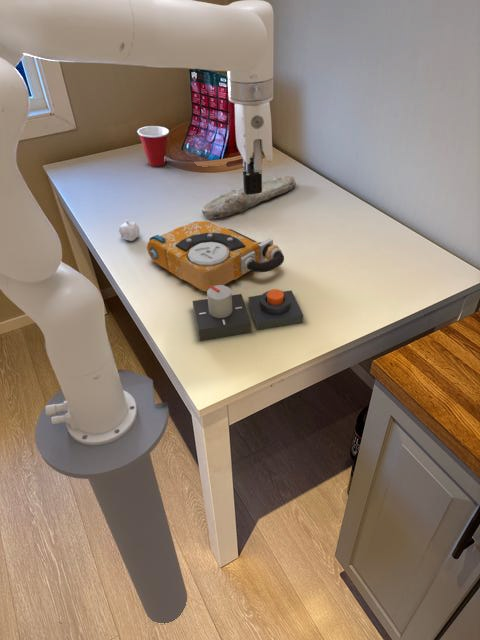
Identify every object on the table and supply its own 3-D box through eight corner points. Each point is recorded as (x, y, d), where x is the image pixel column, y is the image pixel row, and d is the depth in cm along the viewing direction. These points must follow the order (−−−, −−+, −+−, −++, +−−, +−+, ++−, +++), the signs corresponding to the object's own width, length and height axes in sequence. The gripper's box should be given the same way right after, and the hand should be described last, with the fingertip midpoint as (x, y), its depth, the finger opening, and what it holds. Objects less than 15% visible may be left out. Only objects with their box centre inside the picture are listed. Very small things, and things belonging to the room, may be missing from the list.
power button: (269, 306, 103) (269, 300, 102) (265, 296, 106) (265, 290, 105) (285, 304, 104) (285, 297, 102) (281, 294, 106) (281, 288, 105)
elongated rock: (303, 193, 155) (282, 185, 161) (304, 177, 152) (282, 169, 158) (215, 224, 137) (195, 213, 144) (214, 206, 134) (193, 196, 141)
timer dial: (237, 310, 103) (236, 290, 100) (219, 321, 101) (217, 301, 97) (221, 300, 106) (220, 280, 103) (204, 310, 104) (202, 290, 100)
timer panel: (199, 340, 101) (198, 329, 99) (193, 311, 109) (192, 300, 107) (251, 332, 102) (250, 321, 100) (241, 304, 110) (241, 292, 108)
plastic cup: (174, 167, 171) (169, 133, 163) (143, 171, 170) (137, 136, 162) (171, 156, 179) (167, 123, 171) (142, 159, 178) (136, 126, 170)
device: (208, 203, 131) (292, 241, 114) (211, 230, 136) (291, 270, 119) (140, 234, 119) (222, 282, 102) (145, 262, 125) (224, 312, 108)
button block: (257, 329, 103) (257, 315, 100) (248, 304, 110) (248, 290, 107) (302, 322, 104) (303, 308, 102) (291, 297, 111) (291, 283, 108)
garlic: (122, 233, 137) (118, 216, 133) (141, 231, 137) (138, 215, 134) (120, 244, 132) (116, 227, 129) (140, 242, 132) (136, 225, 129)
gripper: (284, 99, 76) (282, 207, 87) (262, 76, 87) (262, 174, 99) (237, 104, 75) (241, 212, 86) (221, 80, 86) (226, 178, 98)
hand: (252, 191), depth 93 cm, fingers closed
